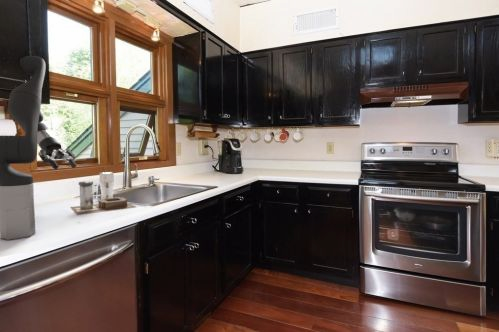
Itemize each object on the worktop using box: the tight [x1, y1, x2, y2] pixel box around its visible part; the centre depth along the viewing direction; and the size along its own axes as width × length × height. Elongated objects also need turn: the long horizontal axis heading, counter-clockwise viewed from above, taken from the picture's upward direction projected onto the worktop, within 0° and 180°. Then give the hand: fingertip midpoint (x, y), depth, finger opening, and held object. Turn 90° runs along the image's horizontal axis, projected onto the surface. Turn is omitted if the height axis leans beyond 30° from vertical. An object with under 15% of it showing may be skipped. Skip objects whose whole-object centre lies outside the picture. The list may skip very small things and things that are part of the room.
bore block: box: [70, 196, 137, 216], centre depth 131 cm, size 18×24×4 cm
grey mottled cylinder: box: [78, 180, 94, 210], centre depth 127 cm, size 6×6×12 cm
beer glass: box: [99, 171, 115, 199], centre depth 153 cm, size 7×7×15 cm
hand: (66, 167), depth 130 cm, fingers open, 8 cm apart
